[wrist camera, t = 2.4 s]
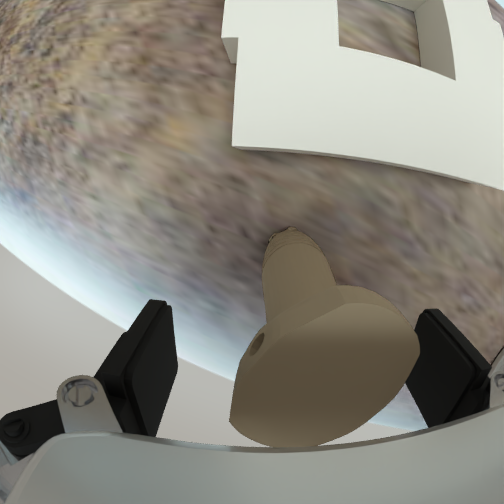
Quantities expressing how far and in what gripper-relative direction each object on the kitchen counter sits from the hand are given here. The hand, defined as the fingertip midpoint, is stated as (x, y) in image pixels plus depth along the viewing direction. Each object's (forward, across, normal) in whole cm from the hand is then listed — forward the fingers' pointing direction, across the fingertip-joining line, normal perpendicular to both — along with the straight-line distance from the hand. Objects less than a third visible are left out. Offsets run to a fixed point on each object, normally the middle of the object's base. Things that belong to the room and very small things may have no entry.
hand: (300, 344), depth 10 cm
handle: (+13, -1, 0) cm, 13 cm away
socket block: (+13, -7, -18) cm, 23 cm away
